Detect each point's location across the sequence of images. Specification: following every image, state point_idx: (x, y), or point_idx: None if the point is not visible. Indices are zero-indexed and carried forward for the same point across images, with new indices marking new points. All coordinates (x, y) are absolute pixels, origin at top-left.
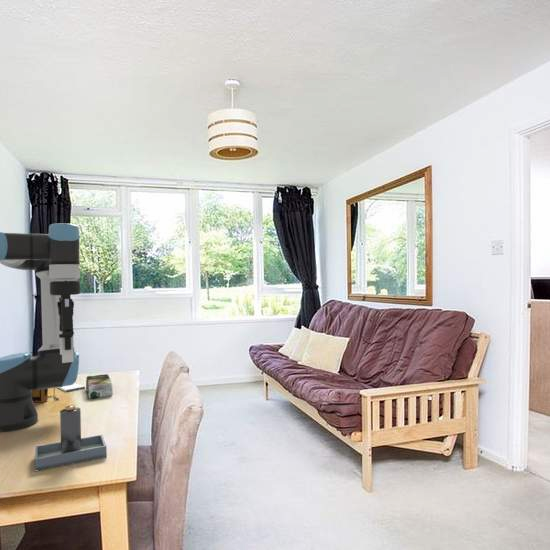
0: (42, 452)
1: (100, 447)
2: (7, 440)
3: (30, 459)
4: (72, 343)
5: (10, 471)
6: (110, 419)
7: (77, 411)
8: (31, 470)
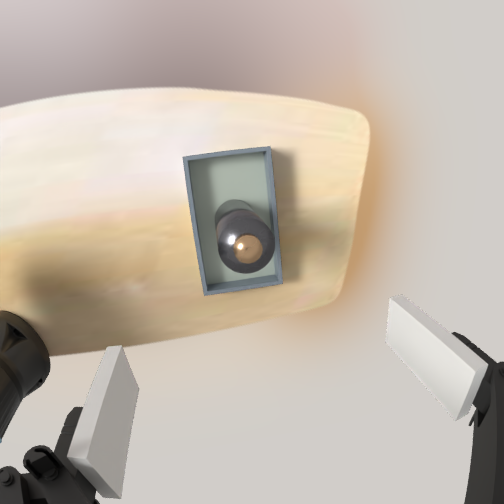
0: (206, 277)
1: (271, 159)
2: (92, 347)
3: None
4: (461, 346)
5: (257, 314)
6: (19, 157)
7: (266, 225)
8: None
